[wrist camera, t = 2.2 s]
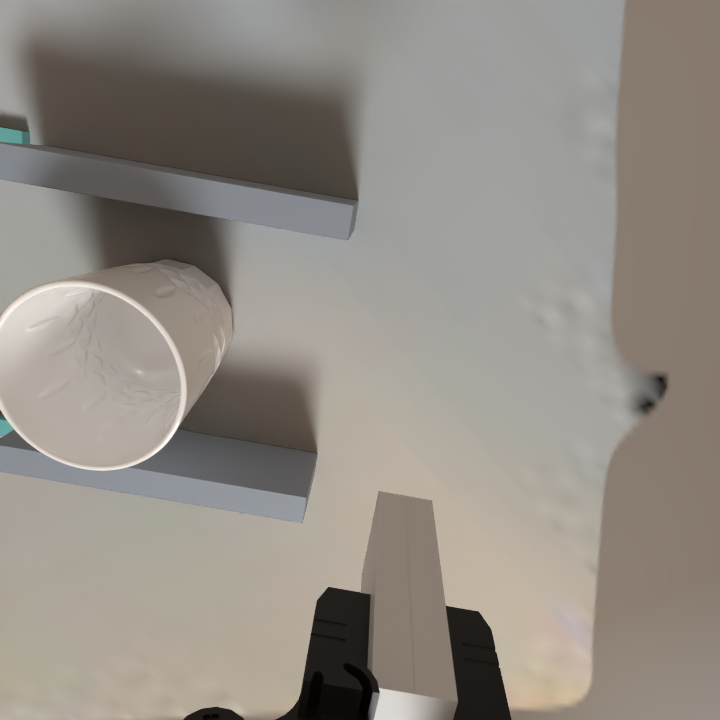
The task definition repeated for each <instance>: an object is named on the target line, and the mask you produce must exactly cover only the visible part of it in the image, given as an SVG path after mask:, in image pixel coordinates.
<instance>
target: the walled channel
mask: <svg viewBox="0 0 720 720" xmlns="http://www.w3.org/2000/svg"><path fill="white" fill-rule="evenodd" d="M0 179H1V180H7V181H13V182H18V183H24V184H30V185H35V186H41V187H47V188H52V189H58V190H64V191H69V192H75V193H81V194H86V195H92V196H98V197H103V198H109V199H115V200H120V201H126V202H132V203H137V204H143V205H149V206H155V207H160V208H166V209H172V210H177V211H183V212H189V213H194V214H200V215H206V216H211V217H217V218H223V219H228V220H234V221H240V222H245V223H251V224H257V225H262V226H268V227H274V228H279V229H285V230H291V231H296V232H302V233H308V234H314V235H319V236H325V237H331V238H336V239H342V240H348V239H349V238H350V236H351V234H352V232H353V231H354V226H355V220H356V214H357V207H358V201H357V200H351V199H346V198H340V197H334V196H329V195H323V194H317V193H312V192H306V191H300V190H295V189H289V188H284V187H278V186H272V185H267V184H261V183H255V182H250V181H244V180H238V179H233V178H227V177H221V176H216V175H210V174H204V173H199V172H193V171H187V170H182V169H176V168H170V167H165V166H159V165H153V164H148V163H142V162H136V161H131V160H125V159H120V158H114V157H108V156H103V155H97V154H91V153H86V152H80V151H74V150H69V149H63V148H57V147H52V146H43V145H31V144H19V143H7V142H0ZM316 460H317V453H312V452H307V451H301V450H295V449H289V448H283V447H278V446H272V445H266V444H260V443H254V442H248V441H243V440H237V439H231V438H225V437H219V436H214V435H208V434H202V433H196V432H190V431H185V430H179V429H177V430H176V432H175V433H174V435H173V436H172V438H171V439H170V440H169V442H168V443H167V444H166V445H165V446H164V447H163V448H162V449H161V450H160V451H158V452H157V453H156V454H154V455H153V456H151V457H150V458H148V459H147V460H145V461H143V462H141V463H138V464H136V465H133V466H130V467H127V468H122V469H117V470H107V471H98V470H87V469H81V468H77V467H73V466H70V465H66V464H64V463H61V462H59V461H56V460H54V459H52V458H50V457H48V456H46V455H45V454H43V453H41V452H40V451H38V450H37V449H35V448H34V447H33V446H31V445H30V444H29V443H28V442H26V441H25V440H24V439H23V438H22V437H21V436H20V435H19V434H18V433H17V432H16V431H15V430H12V431H11V432H9V433H8V434H6V435H5V436H3V437H2V438H0V472H5V473H11V474H17V475H23V476H28V477H34V478H40V479H46V480H52V481H58V482H63V483H69V484H75V485H81V486H87V487H93V488H99V489H104V490H110V491H116V492H122V493H128V494H134V495H140V496H145V497H151V498H157V499H163V500H169V501H175V502H181V503H186V504H192V505H198V506H204V507H210V508H216V509H221V510H227V511H233V512H239V513H245V514H251V515H257V516H262V517H268V518H274V519H280V520H286V521H292V522H298V523H303V519H304V515H305V511H306V507H307V502H308V498H309V494H310V490H311V486H312V482H313V477H314V472H315V466H316Z"/></svg>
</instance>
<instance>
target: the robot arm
mask: <svg viewBox="0 0 720 720" xmlns="http://www.w3.org/2000/svg"><path fill="white" fill-rule="evenodd" d="M184 720H244V719H243V717H241V716H239V715H238V714H236V713H235V712H233V711H232V710H229V709H224V708H219V707H212V708H204V709H200V710H198V711H196V712H194V713H192V714H190V715H188V716H186V717H185V719H184ZM276 720H511V716H510V711H509V707H508V702H507V698H506V693H505V689H504V684H503V680H502V676H501V671H500V668H499V662H498V658H497V653H496V652H495V644H494V640H493V635H492V631H491V629H490V627H489V626H488V624H487V623H486V621H485V620H484V619H483V617H482V616H481V614H480V613H479V612H478V611H472V610H466V609H460V608H455V607H449V606H446V605H445V597H444V589H443V582H442V574H441V566H440V559H439V551H438V543H437V535H436V528H435V520H434V512H433V505H432V500H426V499H421V498H415V497H409V496H403V495H398V494H392V493H386V492H381V491H379V492H378V497H377V502H376V507H375V512H374V517H373V522H372V527H371V532H370V537H369V542H368V547H367V552H366V556H365V561H364V566H363V571H362V583H361V593H360V592H354V591H348V590H343V589H337V588H331V587H328V588H327V589H326V591H325V592H324V593H323V594H322V595H321V597H320V598H319V599H318V600H317V603H316V609H315V615H314V620H313V626H312V632H311V637H310V643H309V648H308V654H307V660H306V666H305V672H304V677H303V683H302V689H301V694H300V697H299V700H298V701H297V703H296V704H295V706H294V707H293V708H292V709H291V710H290V711H289V712H288V713H287V714H285V715H284V716H282V717H280V718H278V719H276Z"/></svg>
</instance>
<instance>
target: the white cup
mask: <svg viewBox="0 0 720 720" xmlns="http://www.w3.org/2000/svg"><path fill="white" fill-rule="evenodd" d="M232 337H233V326H232V309H231V307H230V305H229V303H228V301H227V299H226V297H225V296H224V294H223V292H222V290H221V288H220V286H219V285H218V283H217V282H215V281H214V280H213V279H211V278H210V277H209V276H208V275H206V274H205V273H204V272H202V271H201V270H200V269H199V268H197V267H196V266H194V265H190V264H186V263H182V262H178V261H173V260H169V259H164V260H159V261H155V262H150V263H135V264H129V265H124V266H118V267H114V268H108V269H103V270H99V271H95V272H91V273H88V274H84V275H80V276H74V277H70V278H66V279H62V280H58V281H53V282H49V283H45V284H42V285H39V286H37V287H34V288H32V289H30V290H28V291H26V292H25V293H23V294H21V295H20V296H19V297H17V298H16V299H15V300H14V301H13V302H11V303H10V304H9V305H8V306H7V308H6V309H5V310H4V311H3V312H2V314H1V315H0V410H1V412H2V413H3V415H4V417H5V418H6V420H7V421H8V422H9V424H10V425H11V426H12V427H13V429H14V430H15V431H16V432H17V433H18V434H19V435H20V436H21V437H22V438H23V439H24V440H25V441H26V442H28V443H29V444H30V445H31V446H33V447H34V448H35V449H37V450H38V451H40V452H41V453H43V454H45V455H46V456H48V457H50V458H52V459H54V460H56V461H59V462H61V463H64V464H66V465H70V466H73V467H77V468H81V469H87V470H98V471H107V470H117V469H122V468H127V467H130V466H133V465H136V464H138V463H141V462H143V461H145V460H147V459H148V458H150V457H151V456H153V455H154V454H156V453H157V452H158V451H160V450H161V449H162V448H163V447H164V446H165V445H166V444H167V443H168V442H169V440H170V439H171V438H172V436H173V435H174V433H175V432H176V430H177V429H178V428H179V426H180V425H181V423H182V422H183V420H184V419H185V417H186V416H187V414H188V413H189V412H190V410H191V409H192V407H193V406H194V404H195V403H196V401H197V400H198V399H199V397H200V396H201V394H202V393H203V391H204V390H205V388H206V387H207V385H208V383H209V382H210V380H211V378H212V377H213V375H214V373H215V372H216V370H217V368H218V366H219V364H220V362H221V361H222V359H223V357H224V355H225V353H226V350H227V348H228V346H229V344H230V341H231V339H232Z"/></svg>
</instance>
